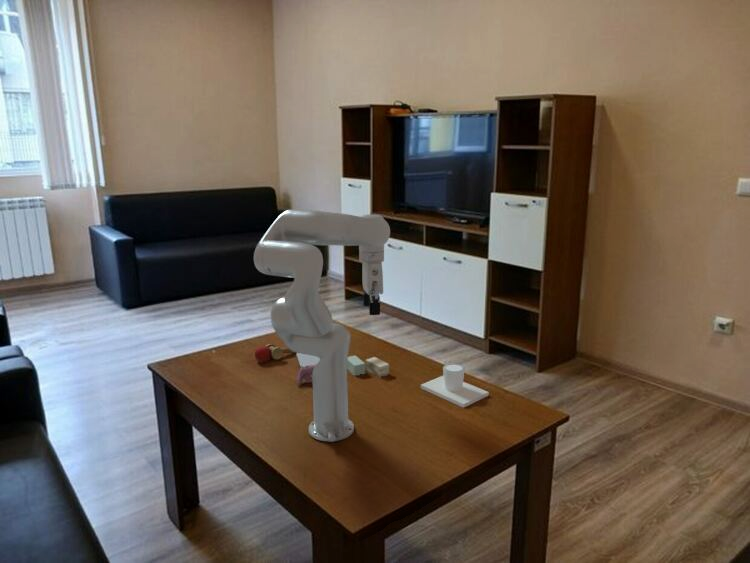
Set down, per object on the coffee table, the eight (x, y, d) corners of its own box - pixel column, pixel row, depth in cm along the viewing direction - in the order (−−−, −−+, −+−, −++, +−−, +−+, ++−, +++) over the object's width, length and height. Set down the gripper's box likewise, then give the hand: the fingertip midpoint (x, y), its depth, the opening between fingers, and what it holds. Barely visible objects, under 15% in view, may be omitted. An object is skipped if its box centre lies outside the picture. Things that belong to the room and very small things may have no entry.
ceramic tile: (488, 395, 185) (488, 392, 184) (463, 407, 177) (463, 404, 177) (445, 377, 198) (445, 374, 197) (420, 388, 190) (420, 384, 190)
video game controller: (328, 386, 195) (328, 365, 196) (326, 386, 191) (326, 364, 192) (298, 386, 196) (299, 365, 197) (295, 386, 191) (297, 364, 192)
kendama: (292, 351, 224) (249, 357, 213) (295, 337, 222) (252, 341, 211) (302, 361, 219) (258, 367, 208) (305, 346, 217) (261, 351, 206)
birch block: (389, 375, 201) (389, 364, 199) (379, 378, 198) (379, 367, 197) (374, 367, 207) (374, 356, 206) (365, 370, 204) (365, 359, 203)
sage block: (365, 374, 201) (365, 363, 200) (354, 376, 199) (354, 365, 198) (355, 365, 208) (355, 355, 207) (345, 368, 206) (344, 357, 205)
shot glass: (447, 393, 183) (448, 373, 181) (439, 384, 190) (439, 364, 188) (467, 391, 185) (468, 370, 183) (458, 382, 191) (459, 362, 190)
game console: (325, 365, 203) (302, 368, 201) (325, 372, 204) (302, 374, 202) (317, 346, 220) (295, 349, 218) (317, 352, 220) (295, 355, 218)
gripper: (390, 261, 170) (389, 317, 174) (378, 250, 187) (377, 301, 191) (364, 262, 169) (364, 319, 173) (354, 250, 185) (355, 303, 189)
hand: (371, 310), depth 182 cm, fingers open, 9 cm apart
